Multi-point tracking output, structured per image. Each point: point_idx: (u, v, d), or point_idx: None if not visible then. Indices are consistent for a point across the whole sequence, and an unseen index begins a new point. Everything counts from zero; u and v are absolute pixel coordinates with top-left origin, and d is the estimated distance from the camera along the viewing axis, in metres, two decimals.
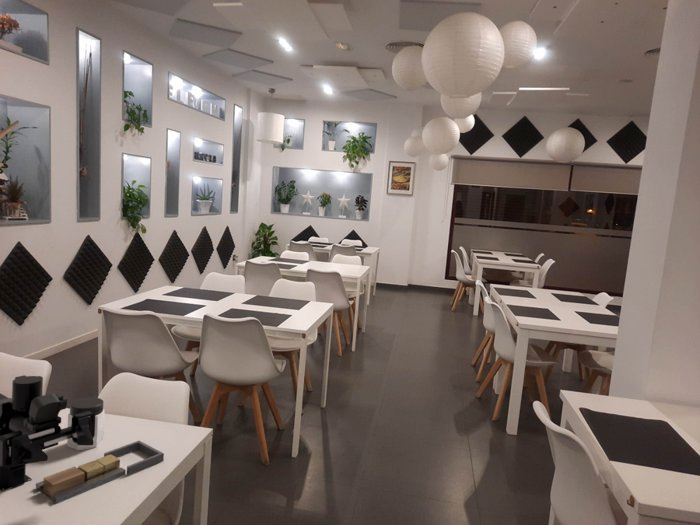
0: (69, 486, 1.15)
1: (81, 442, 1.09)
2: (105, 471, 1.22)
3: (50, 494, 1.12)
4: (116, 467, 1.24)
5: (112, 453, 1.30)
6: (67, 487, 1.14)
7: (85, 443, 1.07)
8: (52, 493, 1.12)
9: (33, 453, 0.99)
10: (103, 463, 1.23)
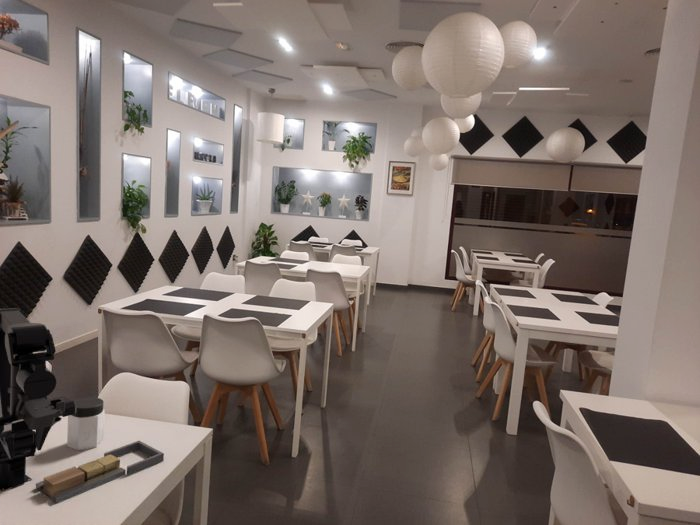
0: (69, 486, 1.15)
1: None
2: (105, 471, 1.22)
3: (50, 494, 1.12)
4: (116, 467, 1.24)
5: (112, 453, 1.30)
6: (67, 487, 1.14)
7: (36, 437, 1.10)
8: (52, 493, 1.12)
9: (6, 447, 1.04)
10: (103, 463, 1.23)
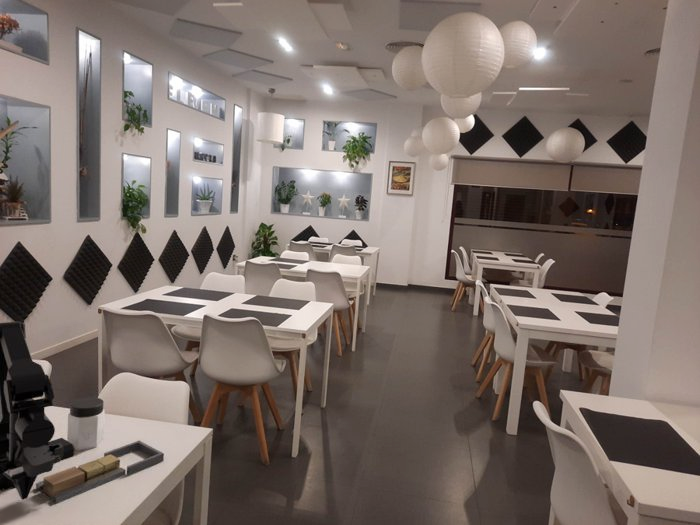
0: (69, 486, 1.15)
1: None
2: (105, 471, 1.22)
3: (50, 494, 1.12)
4: (116, 467, 1.24)
5: (112, 453, 1.30)
6: (67, 487, 1.14)
7: None
8: (52, 493, 1.12)
9: (18, 488, 1.07)
10: (103, 463, 1.23)
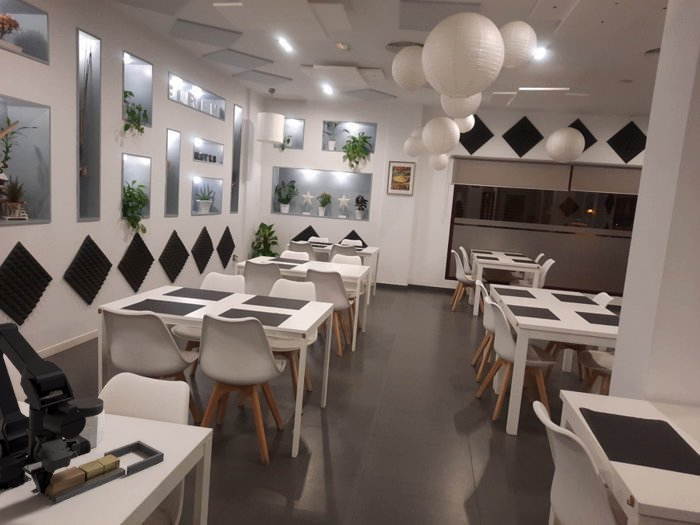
0: (69, 486, 1.15)
1: None
2: (105, 471, 1.22)
3: (50, 494, 1.12)
4: (116, 467, 1.24)
5: (112, 453, 1.30)
6: (67, 487, 1.14)
7: None
8: (52, 493, 1.12)
9: (37, 482, 1.10)
10: (103, 463, 1.23)
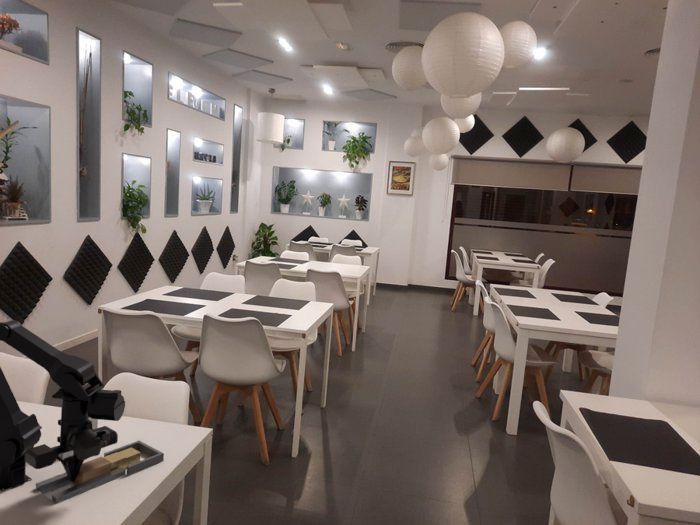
0: (97, 475, 1.20)
1: None
2: (127, 463, 1.27)
3: (80, 482, 1.18)
4: (137, 460, 1.29)
5: (112, 453, 1.30)
6: (95, 476, 1.20)
7: None
8: (82, 481, 1.17)
9: (68, 471, 1.16)
10: (124, 455, 1.27)
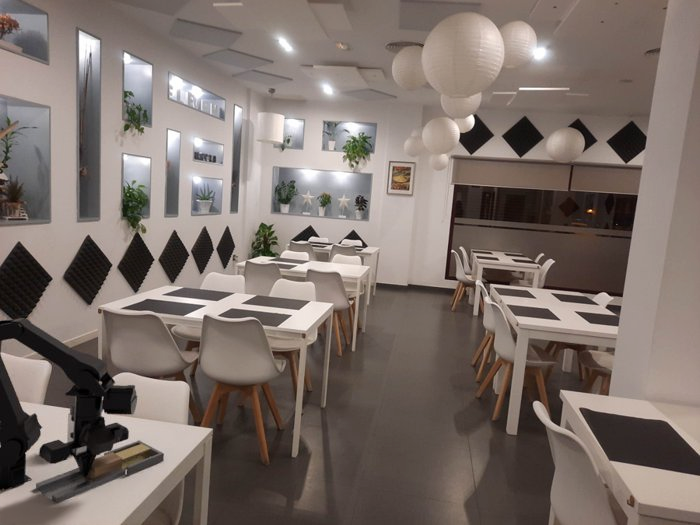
0: (109, 470, 1.23)
1: None
2: (137, 459, 1.29)
3: (92, 477, 1.20)
4: (147, 456, 1.32)
5: None
6: (107, 471, 1.22)
7: None
8: (94, 476, 1.20)
9: (81, 466, 1.18)
10: (135, 451, 1.30)
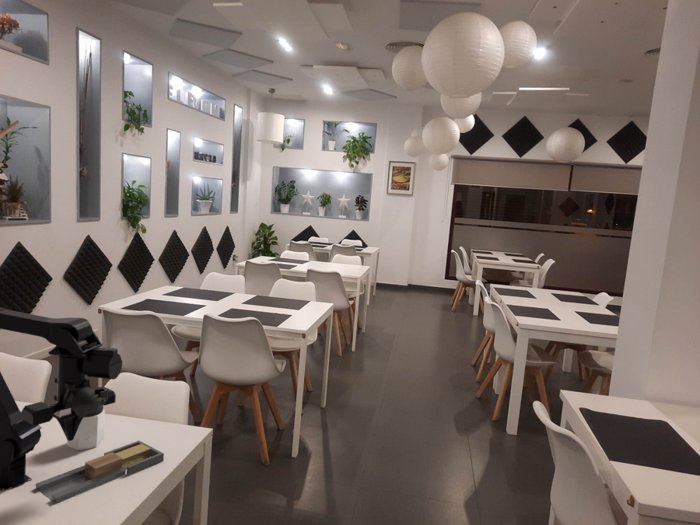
0: (109, 470, 1.23)
1: None
2: (137, 459, 1.29)
3: (92, 477, 1.20)
4: (147, 456, 1.32)
5: None
6: (107, 471, 1.22)
7: None
8: (94, 476, 1.20)
9: (65, 429, 1.14)
10: (135, 451, 1.30)
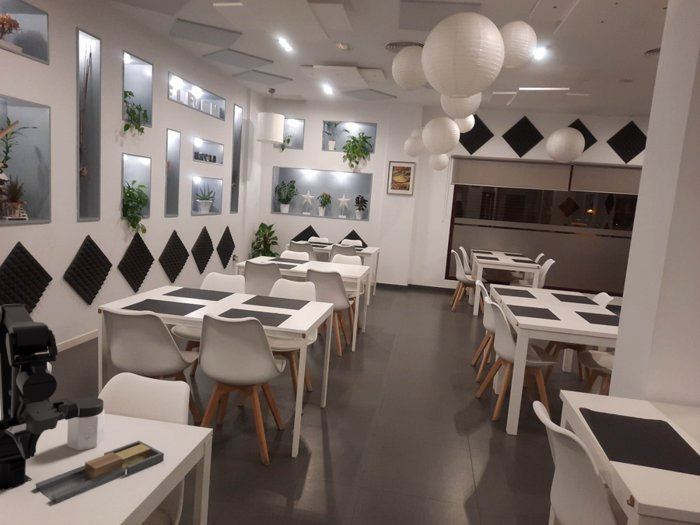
0: (109, 470, 1.23)
1: None
2: (137, 459, 1.29)
3: (92, 477, 1.20)
4: (147, 456, 1.32)
5: None
6: (107, 471, 1.22)
7: None
8: (94, 476, 1.20)
9: (21, 447, 1.03)
10: (135, 451, 1.30)
